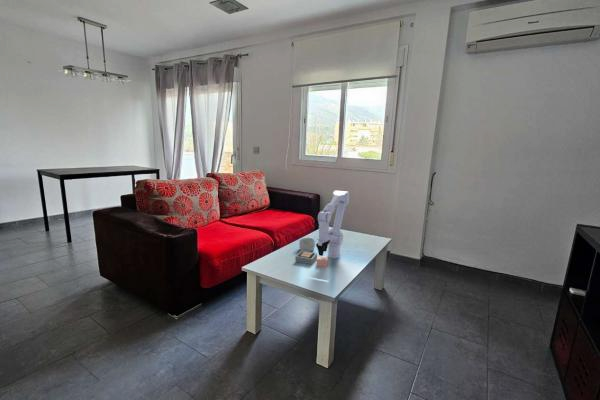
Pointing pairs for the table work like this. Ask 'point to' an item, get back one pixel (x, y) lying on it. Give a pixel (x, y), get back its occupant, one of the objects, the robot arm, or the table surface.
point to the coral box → (322, 261)
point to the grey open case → (307, 244)
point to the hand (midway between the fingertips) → (322, 253)
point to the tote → (306, 260)
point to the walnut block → (306, 255)
